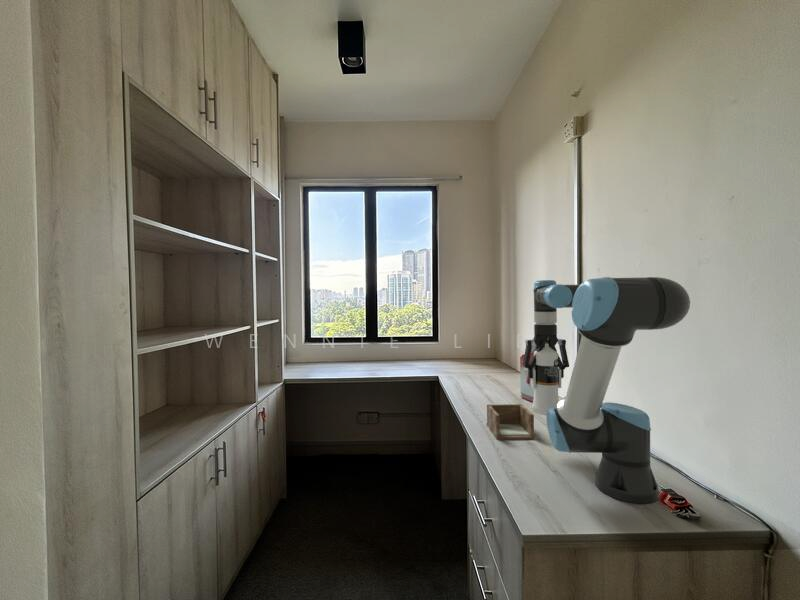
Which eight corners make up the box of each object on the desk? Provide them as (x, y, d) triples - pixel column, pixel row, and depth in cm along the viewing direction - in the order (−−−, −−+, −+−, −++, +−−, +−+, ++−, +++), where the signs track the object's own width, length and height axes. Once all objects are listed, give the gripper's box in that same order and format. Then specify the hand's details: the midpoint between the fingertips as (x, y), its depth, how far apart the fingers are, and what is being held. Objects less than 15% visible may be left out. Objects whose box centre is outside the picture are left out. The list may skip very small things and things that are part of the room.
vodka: (542, 406, 138) (542, 326, 138) (565, 412, 130) (565, 328, 130) (526, 411, 133) (526, 327, 133) (549, 417, 125) (548, 329, 125)
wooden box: (534, 439, 141) (534, 415, 141) (497, 439, 141) (496, 416, 140) (520, 424, 157) (520, 403, 157) (486, 425, 157) (486, 404, 156)
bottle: (518, 398, 198) (518, 342, 198) (534, 396, 201) (534, 341, 201) (536, 405, 184) (535, 345, 184) (553, 403, 187) (552, 344, 187)
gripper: (570, 322, 135) (570, 384, 135) (512, 323, 135) (513, 385, 135) (580, 324, 128) (580, 389, 128) (519, 324, 128) (519, 390, 128)
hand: (545, 387), depth 131 cm, fingers closed on vodka, 8 cm apart
